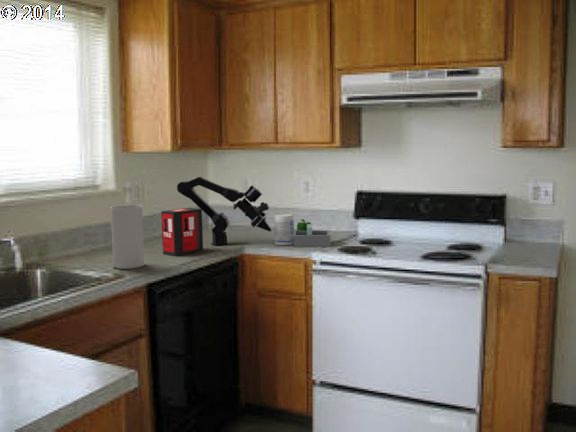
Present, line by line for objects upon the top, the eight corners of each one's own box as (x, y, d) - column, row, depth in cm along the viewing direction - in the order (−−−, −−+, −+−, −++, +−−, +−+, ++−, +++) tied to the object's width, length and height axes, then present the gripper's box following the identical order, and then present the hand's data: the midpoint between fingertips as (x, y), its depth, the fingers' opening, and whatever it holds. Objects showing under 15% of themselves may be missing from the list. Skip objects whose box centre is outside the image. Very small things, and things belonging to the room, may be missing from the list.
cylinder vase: (136, 262, 262) (133, 204, 259) (149, 266, 252) (147, 206, 249) (108, 266, 253) (105, 206, 251) (121, 270, 244) (118, 209, 241)
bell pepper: (306, 235, 328) (306, 217, 327) (315, 237, 321) (314, 218, 320) (293, 237, 324) (293, 218, 322) (302, 239, 317) (301, 220, 316)
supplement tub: (295, 245, 297) (294, 215, 295) (276, 246, 296) (275, 216, 294) (292, 242, 307) (292, 213, 305) (273, 243, 305) (273, 214, 304)
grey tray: (294, 247, 293) (293, 235, 292) (295, 241, 309) (295, 230, 309) (330, 246, 291) (330, 235, 291) (330, 241, 308) (330, 230, 308)
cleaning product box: (190, 249, 292) (189, 208, 290) (203, 251, 286) (201, 209, 284) (163, 254, 280) (161, 211, 277) (175, 256, 274) (173, 212, 271)
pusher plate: (307, 246, 294) (306, 227, 293) (307, 241, 307) (307, 224, 306) (311, 246, 294) (311, 227, 293) (312, 241, 307) (312, 224, 306)
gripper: (257, 199, 290) (280, 221, 291) (261, 195, 309) (283, 216, 309) (241, 215, 291) (264, 238, 292) (246, 211, 310) (268, 232, 311)
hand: (270, 230), depth 301 cm, fingers closed
